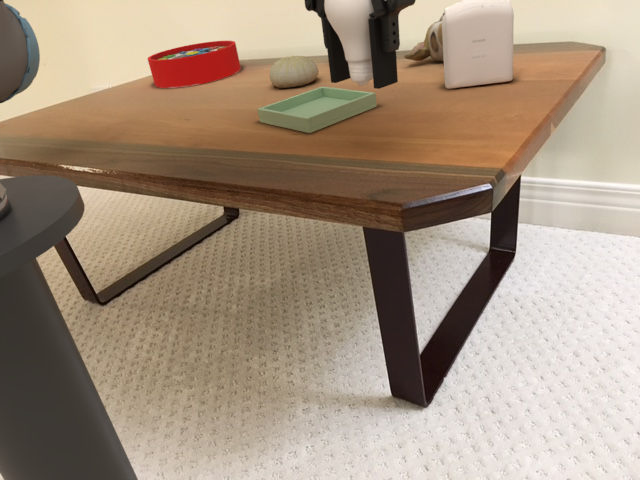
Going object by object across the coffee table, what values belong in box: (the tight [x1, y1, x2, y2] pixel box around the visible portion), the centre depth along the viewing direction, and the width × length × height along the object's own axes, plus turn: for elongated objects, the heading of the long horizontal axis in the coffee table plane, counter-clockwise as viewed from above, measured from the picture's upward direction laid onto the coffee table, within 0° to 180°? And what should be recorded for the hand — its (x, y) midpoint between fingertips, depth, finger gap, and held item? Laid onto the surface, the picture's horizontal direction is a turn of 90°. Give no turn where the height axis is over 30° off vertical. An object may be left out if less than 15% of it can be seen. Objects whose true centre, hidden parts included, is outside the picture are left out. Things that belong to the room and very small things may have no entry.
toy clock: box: [147, 40, 242, 89], centre depth 124 cm, size 20×6×20 cm
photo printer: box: [442, 0, 515, 90], centre depth 81 cm, size 10×4×12 cm, turn 82°
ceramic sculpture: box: [403, 12, 444, 62], centre depth 100 cm, size 11×9×15 cm
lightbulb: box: [324, 0, 386, 86], centre depth 54 cm, size 6×6×11 cm
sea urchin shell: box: [269, 55, 320, 89], centre depth 102 cm, size 9×8×8 cm
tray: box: [257, 86, 378, 134], centre depth 81 cm, size 13×12×2 cm
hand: (363, 81), depth 57 cm, fingers closed on lightbulb, 6 cm apart
